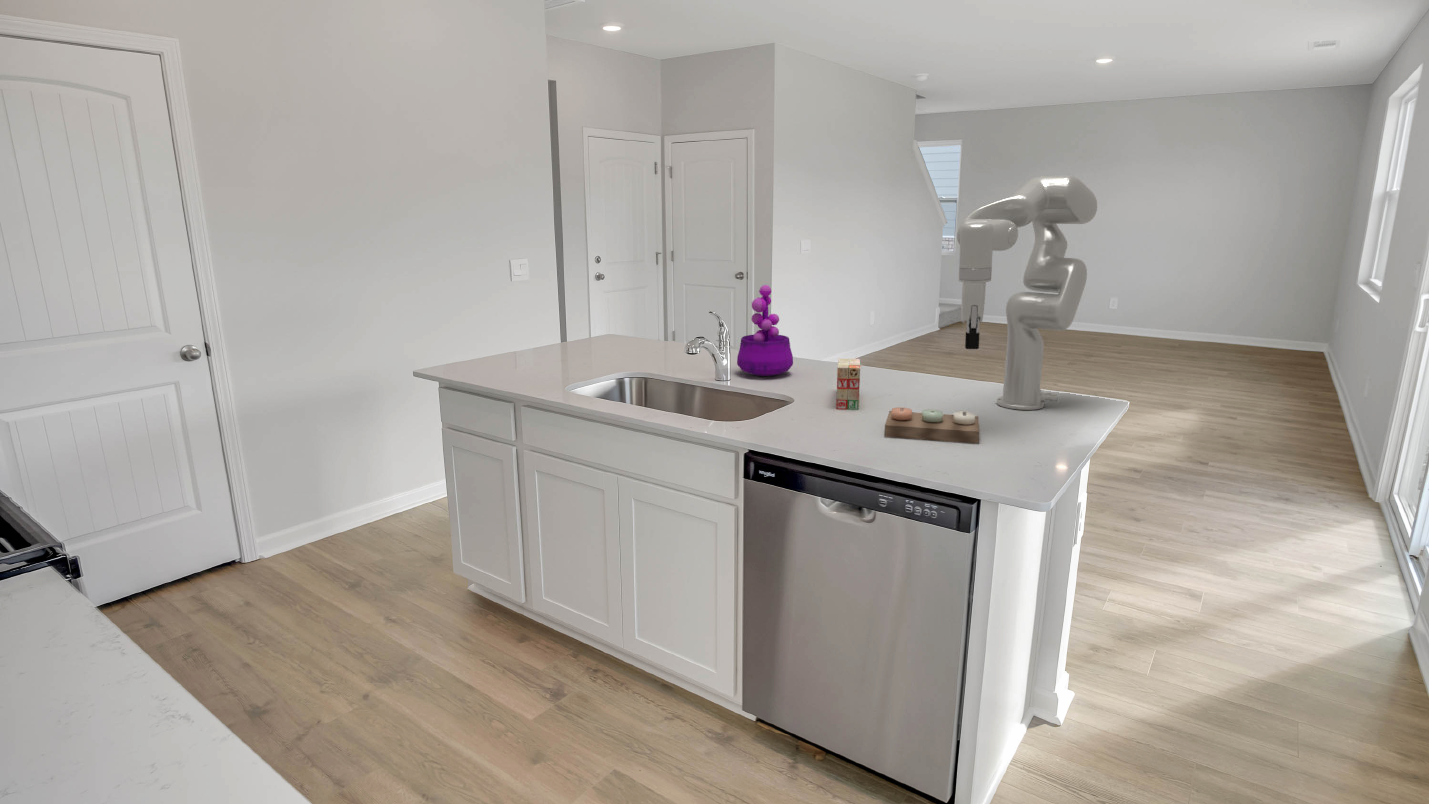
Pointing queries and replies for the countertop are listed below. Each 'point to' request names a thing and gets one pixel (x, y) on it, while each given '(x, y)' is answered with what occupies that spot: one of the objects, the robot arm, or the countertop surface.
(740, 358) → the decorative plant
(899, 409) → the terracotta button
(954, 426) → the button board
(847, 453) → the countertop surface
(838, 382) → the stack of blocks
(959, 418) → the cream button
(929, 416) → the sage button
